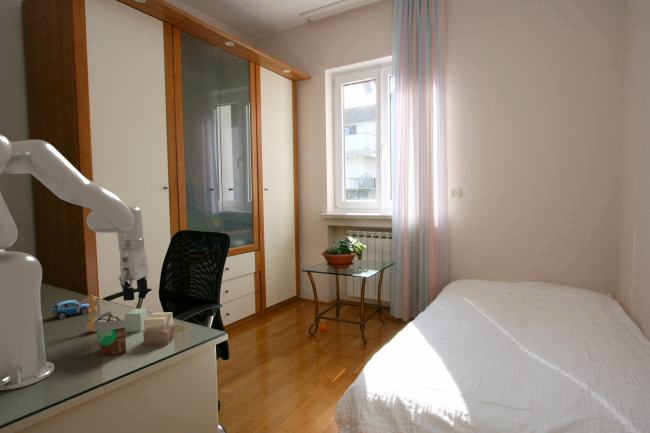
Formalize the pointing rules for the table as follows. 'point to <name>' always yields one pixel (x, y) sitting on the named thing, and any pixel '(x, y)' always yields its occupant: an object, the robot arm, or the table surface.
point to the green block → (135, 319)
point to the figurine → (91, 301)
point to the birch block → (158, 322)
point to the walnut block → (160, 337)
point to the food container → (110, 334)
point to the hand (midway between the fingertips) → (136, 295)
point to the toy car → (68, 308)
